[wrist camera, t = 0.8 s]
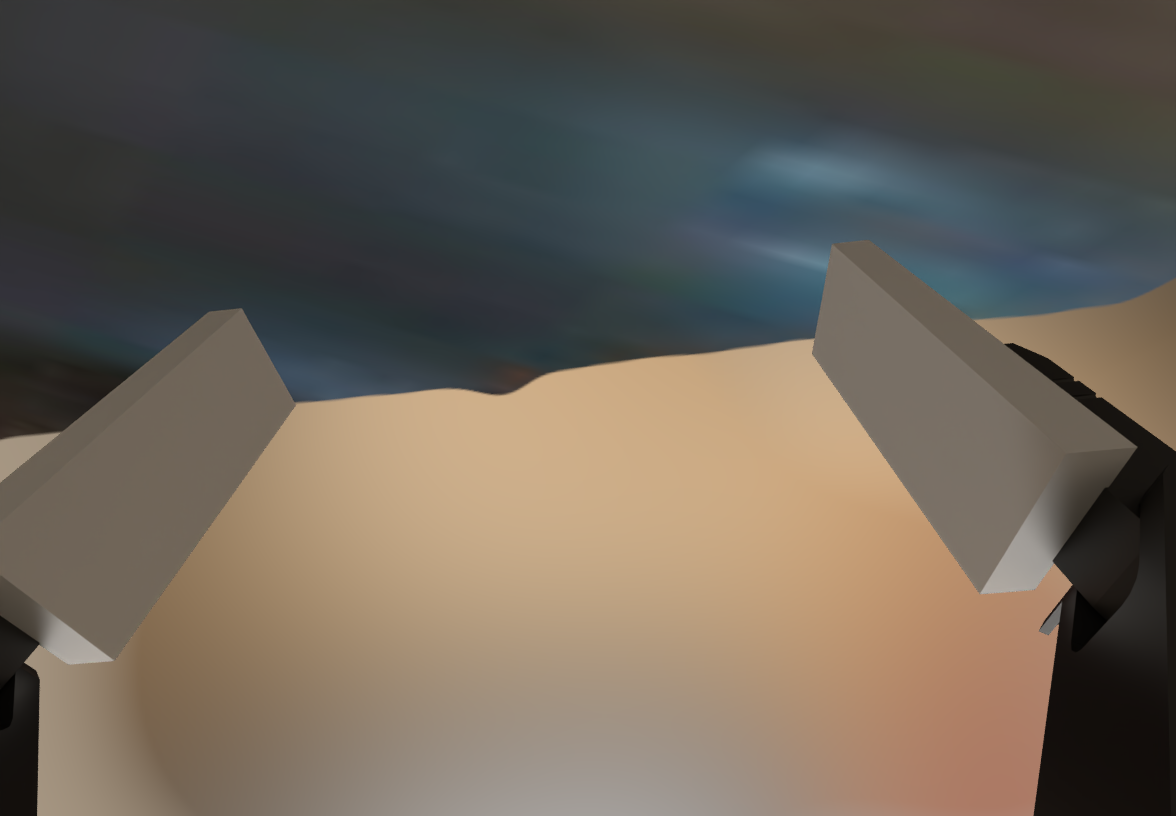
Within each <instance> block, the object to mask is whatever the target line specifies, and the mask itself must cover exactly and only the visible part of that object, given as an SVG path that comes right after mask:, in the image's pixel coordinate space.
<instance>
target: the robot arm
mask: <svg viewBox="0 0 1176 816" xmlns="http://www.w3.org/2000/svg"><path fill="white" fill-rule="evenodd" d="M812 354H813V356H814V357H815V359H816V360H817V362H818V363H819V364H820V366H821V367H822V369H823V370H824V372H825V373H826V375H827V376H828V377H829V379H830V380H831V382H832V383H833V385H834V386H835V387H836V389H837V390H838V392H839V393H840V395H841V396H842V397H843V399H844V400H845V402H846V403H847V404H848V406H849V407H850V409H851V410H852V412H853V413H854V415H855V416H856V417H857V419H858V420H859V422H860V423H861V424H862V426H863V427H864V429H865V430H866V432H867V433H868V435H869V436H870V438H871V439H872V440H873V442H874V443H875V445H876V446H877V447H878V449H879V450H880V452H881V453H882V455H883V456H884V458H885V459H886V460H887V462H888V463H889V465H890V466H891V468H892V469H893V470H894V472H895V473H896V475H897V476H898V478H899V479H900V480H901V482H902V483H903V485H904V486H905V488H906V489H907V491H908V492H909V493H910V495H911V496H912V498H913V499H914V501H915V502H916V503H917V505H918V506H919V508H920V509H921V511H922V512H923V513H924V515H925V516H926V518H927V519H928V521H929V522H930V523H931V525H932V526H933V528H934V529H935V530H936V532H937V533H938V535H939V536H940V538H941V539H942V541H943V542H944V543H945V545H946V546H947V548H948V549H949V551H950V552H951V554H952V555H953V556H954V558H955V559H956V560H957V562H958V563H959V565H960V566H961V568H962V569H963V571H964V572H965V574H966V575H967V576H968V578H969V579H970V581H971V582H972V583H973V585H974V586H975V588H976V589H977V591H978V592H979V594H988V593H1000V592H1013V591H1025V590H1026V591H1027V590H1035V589H1036V587H1037V586H1038V585H1039V583H1040V582H1041V580H1042V579H1043V578H1044V576H1045V575H1046V573H1047V572H1048V571H1049V569H1050V568H1051V567H1052V565H1053V564H1055V565H1056V566H1057V567H1058V568H1059V569H1060V570H1061V572H1062V573H1063V574H1064V575H1065V576H1066V577H1067V578H1068V579H1069V581H1070V582H1071V583H1072V584H1073V585H1072V586H1071V588H1070V589H1069V590H1068V592H1067V593H1066V594H1065V595H1064V597H1063V598H1062V599H1061V600H1060V602H1059V603H1058V604H1057V605H1056V607H1055V608H1054V609H1053V611H1052V612H1051V613H1050V614H1049V616H1048V617H1047V618H1046V619H1045V621H1044V623H1043V625H1042V626H1041V628H1040V630H1039V631H1040V632H1042V633H1044V634H1047V635H1049V634H1050V633H1051V631H1052V630H1053V629H1054V628H1055V627H1056V625H1058V624H1059V629H1058V637H1057V644H1056V652H1055V659H1054V667H1053V674H1052V681H1051V689H1050V696H1049V704H1048V711H1047V719H1046V726H1045V734H1044V741H1043V749H1042V756H1041V764H1040V772H1039V779H1038V786H1037V794H1036V802H1035V809H1034V816H1176V451H1174V450H1173V449H1172V448H1170V447H1169V446H1168V445H1166V444H1165V443H1163V442H1162V441H1161V440H1159V439H1158V438H1157V437H1155V436H1154V435H1152V434H1151V433H1150V432H1148V431H1147V430H1145V429H1144V428H1143V427H1142V426H1140V425H1139V424H1137V423H1136V422H1135V421H1133V420H1132V419H1131V418H1129V417H1128V416H1126V415H1125V414H1124V413H1122V412H1121V411H1119V410H1118V409H1117V408H1115V407H1114V406H1113V405H1111V404H1110V403H1109V402H1107V401H1106V400H1104V399H1103V398H1096V396H1095V395H1096V393H1095V392H1094V391H1092V390H1091V389H1089V388H1088V387H1086V386H1085V385H1084V384H1083V383H1081V382H1080V381H1074V377H1073V376H1071V375H1070V374H1068V373H1067V372H1066V371H1065V370H1063V369H1062V368H1061V367H1059V366H1058V365H1056V364H1055V363H1054V362H1052V361H1051V360H1049V359H1048V358H1046V357H1044V356H1042V355H1039V354H1037V353H1035V352H1032V351H1030V350H1028V349H1025V348H1023V347H1021V346H1018V345H1016V344H1014V343H1010V344H1003V343H1002V342H1000V341H999V340H998V339H997V338H995V337H994V336H993V335H991V334H990V333H989V332H987V331H986V330H985V329H984V328H982V327H981V326H980V325H978V324H977V323H976V322H975V321H973V320H972V319H971V318H969V317H968V316H967V315H965V314H964V313H963V312H962V311H960V310H959V309H958V308H956V307H955V306H954V305H952V304H951V303H950V302H949V301H947V300H946V299H945V298H943V297H942V296H941V295H939V294H938V293H937V292H936V291H934V290H933V289H932V288H930V287H929V286H928V285H926V284H925V283H924V282H923V281H921V280H920V279H919V278H917V277H916V276H915V275H914V274H912V273H911V272H910V271H908V270H907V269H906V268H904V267H903V266H902V265H901V264H899V263H898V262H897V261H895V260H894V259H893V258H891V257H890V256H889V255H888V254H886V253H885V252H884V251H882V250H881V249H880V248H878V247H877V246H876V245H875V244H873V243H872V242H871V241H869V240H864V241H855V242H845V243H836V244H832V248H831V253H830V259H829V264H828V270H827V275H826V280H825V286H824V291H823V297H822V302H821V308H820V313H819V319H818V324H817V329H816V335H815V340H814V346H813V351H812ZM294 407H295V403H294V401H293V399H292V397H291V396H290V394H289V392H288V390H287V388H286V387H285V385H284V383H283V381H282V380H281V378H280V376H279V374H278V372H277V371H276V369H275V367H274V365H273V364H272V362H271V360H270V358H269V356H268V355H267V353H266V351H265V349H264V348H263V346H262V344H261V342H260V340H259V339H258V337H257V335H256V333H255V331H254V330H253V328H252V326H251V324H250V323H249V321H248V319H247V317H246V315H245V314H244V312H243V310H242V308H240V309H231V310H222V311H213V312H208V313H207V314H206V315H205V316H203V317H202V318H201V319H200V320H198V321H197V322H196V323H195V324H194V325H192V326H191V327H190V328H189V329H187V330H186V331H185V332H184V333H183V334H181V335H180V336H179V337H178V338H176V339H175V340H174V341H173V342H172V343H170V344H169V345H168V346H167V347H165V348H164V349H163V350H162V351H161V352H159V353H158V354H157V355H156V356H154V357H153V358H152V359H151V360H150V361H148V362H147V363H146V364H145V365H143V366H142V367H141V368H140V369H139V370H137V371H136V372H135V373H134V374H133V375H131V376H130V377H129V378H128V379H126V380H125V381H124V382H123V383H122V384H120V385H119V386H118V387H117V388H115V389H114V390H113V391H112V392H111V393H109V394H108V395H107V396H106V397H104V398H103V399H102V400H101V401H100V402H98V403H97V404H96V405H95V406H93V407H92V408H91V409H90V410H89V411H87V412H86V413H85V414H84V415H82V416H81V417H80V418H79V419H78V420H76V421H75V422H74V423H73V424H71V425H70V426H69V427H68V428H67V429H65V430H64V431H63V432H62V433H60V434H59V435H58V436H57V437H56V438H54V439H53V440H52V441H51V442H50V443H48V444H47V445H46V446H45V447H43V448H42V449H41V450H40V451H39V452H37V453H36V454H35V455H34V456H32V457H31V458H30V459H29V460H28V461H26V462H25V463H24V464H23V465H21V466H20V467H19V468H18V469H17V470H15V471H14V472H13V473H12V474H10V475H9V476H8V477H7V478H6V479H4V480H3V481H2V482H1V483H0V816H37V791H38V739H39V738H38V737H39V688H40V687H39V686H40V685H39V684H40V679H39V677H38V674H37V672H36V670H34V669H33V668H31V667H30V666H28V665H27V664H25V663H24V662H25V660H26V659H27V658H28V657H29V656H30V654H31V653H32V652H33V651H34V650H35V649H36V648H37V646H38V645H40V646H42V647H43V648H45V649H46V650H48V651H49V652H51V653H52V654H54V655H55V656H57V657H58V658H59V659H61V660H62V661H64V662H65V663H67V664H81V663H94V662H107V661H114V660H116V658H117V657H118V655H119V654H120V652H121V651H122V650H123V648H124V647H125V645H126V644H127V642H128V641H129V640H130V638H131V637H132V636H133V634H134V633H135V631H136V630H137V628H138V627H139V626H140V624H141V623H142V621H143V620H144V619H145V617H146V616H147V614H148V613H149V612H150V610H151V609H152V607H153V606H154V605H155V603H156V602H157V600H158V599H159V598H160V596H161V595H162V593H163V592H164V590H165V589H166V588H167V586H168V585H169V583H170V582H171V581H172V579H173V578H174V576H175V575H176V574H177V572H178V571H179V569H180V568H181V566H182V565H183V564H184V562H185V561H186V559H187V558H188V556H189V555H190V554H191V552H192V551H193V550H194V548H195V547H196V545H197V544H198V542H199V541H200V539H201V538H202V537H203V535H204V534H205V533H206V531H207V530H208V528H209V527H210V526H211V524H212V523H213V521H214V520H215V518H216V517H217V516H218V514H219V513H220V511H221V510H222V509H223V507H224V506H225V504H226V503H227V502H228V500H229V499H230V497H231V496H232V494H233V493H234V492H235V490H236V489H237V488H238V486H239V484H240V483H241V482H242V480H243V479H244V478H245V476H246V475H247V473H248V472H249V471H250V469H251V468H252V466H253V465H254V463H255V462H256V461H257V459H258V458H259V456H260V455H261V454H262V452H263V451H264V449H265V448H266V446H267V445H268V444H269V442H270V441H271V439H272V438H273V437H274V435H275V434H276V432H277V431H278V430H279V428H280V427H281V425H282V424H283V423H284V421H285V420H286V418H287V417H288V416H289V414H290V413H291V411H292V410H293V409H294Z"/></svg>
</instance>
